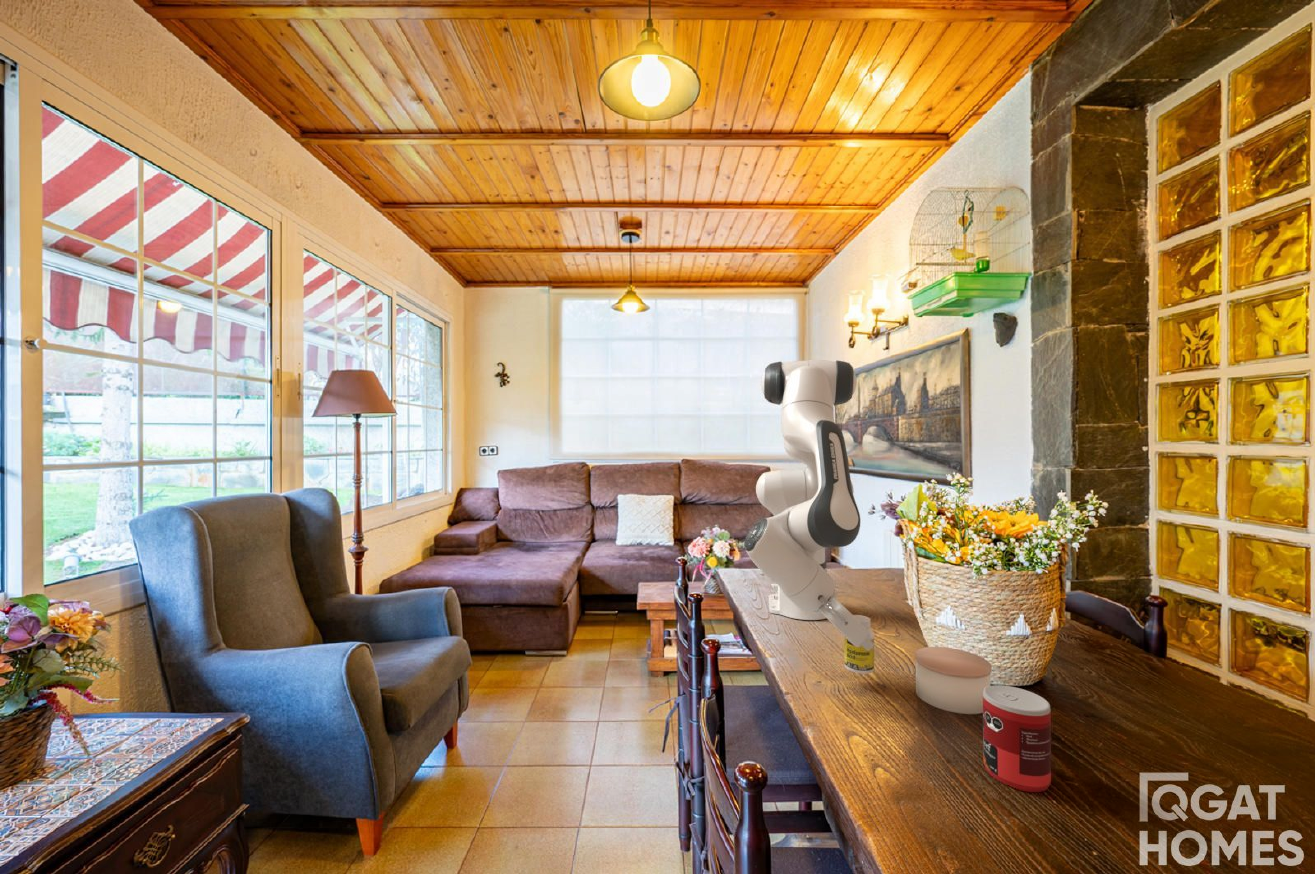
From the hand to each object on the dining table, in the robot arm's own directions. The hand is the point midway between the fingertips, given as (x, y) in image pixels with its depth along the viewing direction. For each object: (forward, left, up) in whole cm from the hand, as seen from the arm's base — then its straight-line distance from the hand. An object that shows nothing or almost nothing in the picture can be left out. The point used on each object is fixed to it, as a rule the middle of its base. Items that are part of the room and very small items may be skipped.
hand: (862, 639), depth 104 cm
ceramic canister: (+5, +14, -9) cm, 18 cm away
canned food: (+28, +10, -9) cm, 31 cm away
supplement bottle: (0, -1, -6) cm, 6 cm away
